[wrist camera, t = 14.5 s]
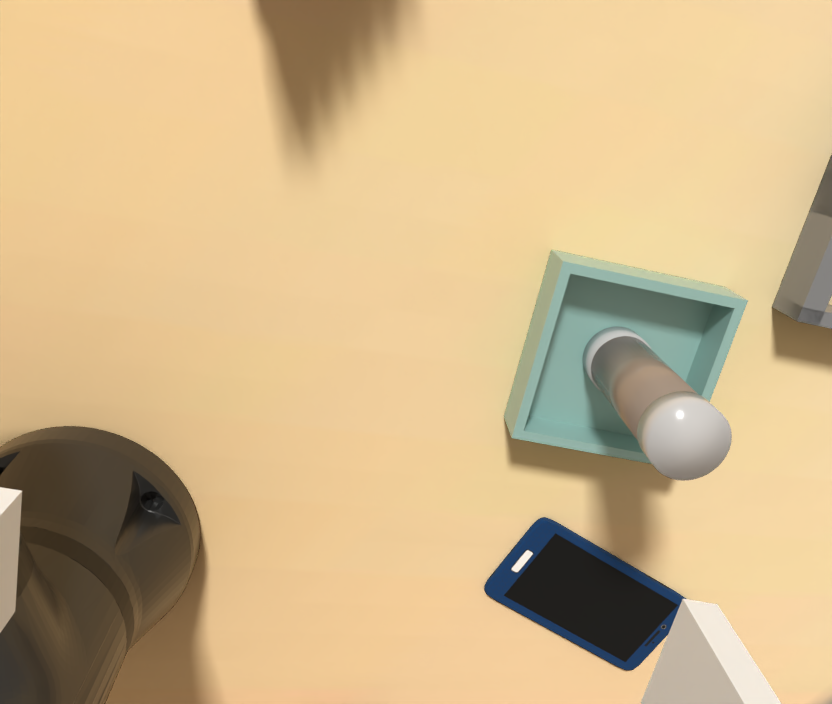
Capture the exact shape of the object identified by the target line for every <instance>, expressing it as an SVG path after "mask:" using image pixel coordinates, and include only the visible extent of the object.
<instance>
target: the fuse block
mask: <svg viewBox="0 0 832 704" xmlns="http://www.w3.org/2000/svg"><path fill="white" fill-rule="evenodd" d="M831 296H832V155H831V158H830V160H829V163H828V165H827V168H826V170H825V173H824V175H823V178H822V181H821V183H820V186H819V188H818V191H817V193H816V196H815V198H814V201H813V204H812V206H811V209H810V211H809V214H808V216H807V219H806V221H805V224H804V227H803V229H802V232H801V234H800V237H799V239H798V242H797V244H796V247H795V249H794V252H793V255H792V257H791V260H790V262H789V265H788V267H787V270H786V272H785V275H784V278H783V280H782V283H781V285H780V288H779V290H778V293H777V295H776V298H775V301H774V303H773V306H772V307H773V308H775V309H776V310H778V311H780V312H782V313H783V314H785V315H787V316H789V317H790V318H792V319H794V320H796V321H798V322H803V323H807V324H812V325H817V326H821V327H826V328H831V329H832V305H829V304H828V303H829V300H830V298H831Z"/></svg>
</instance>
